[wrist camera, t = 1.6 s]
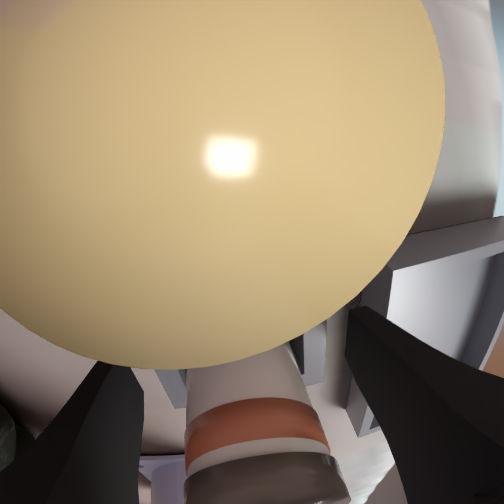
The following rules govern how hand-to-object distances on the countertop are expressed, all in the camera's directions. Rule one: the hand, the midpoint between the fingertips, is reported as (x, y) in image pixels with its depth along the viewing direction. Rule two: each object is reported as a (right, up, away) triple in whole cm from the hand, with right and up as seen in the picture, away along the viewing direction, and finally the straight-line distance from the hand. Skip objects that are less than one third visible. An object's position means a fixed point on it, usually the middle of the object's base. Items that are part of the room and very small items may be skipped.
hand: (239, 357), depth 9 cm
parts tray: (+10, -1, +5) cm, 11 cm away
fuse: (-1, +7, -1) cm, 7 cm away
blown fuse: (0, +1, +2) cm, 2 cm away
